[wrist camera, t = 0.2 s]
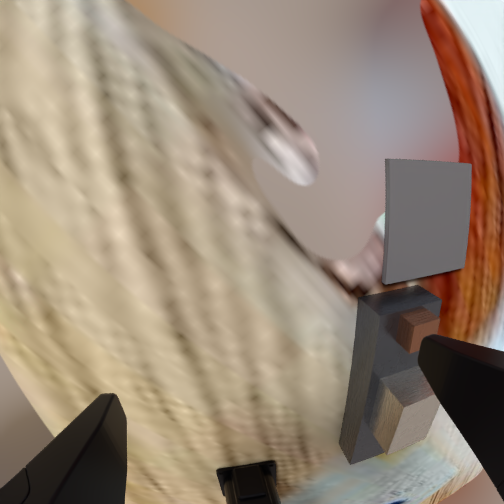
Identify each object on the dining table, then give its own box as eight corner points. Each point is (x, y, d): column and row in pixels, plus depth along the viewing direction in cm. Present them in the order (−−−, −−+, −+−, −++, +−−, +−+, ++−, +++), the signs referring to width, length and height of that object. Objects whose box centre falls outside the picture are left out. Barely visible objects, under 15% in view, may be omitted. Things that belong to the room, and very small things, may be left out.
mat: (460, 265, 26) (464, 267, 26) (381, 281, 25) (385, 284, 24) (466, 163, 23) (471, 164, 23) (385, 158, 22) (389, 159, 21)
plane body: (386, 427, 31) (407, 457, 26) (338, 443, 30) (356, 477, 25) (417, 284, 26) (457, 309, 20) (358, 297, 25) (394, 328, 19)
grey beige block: (405, 413, 26) (425, 437, 22) (368, 427, 25) (386, 455, 21) (420, 364, 24) (445, 389, 20) (379, 378, 23) (403, 407, 19)
